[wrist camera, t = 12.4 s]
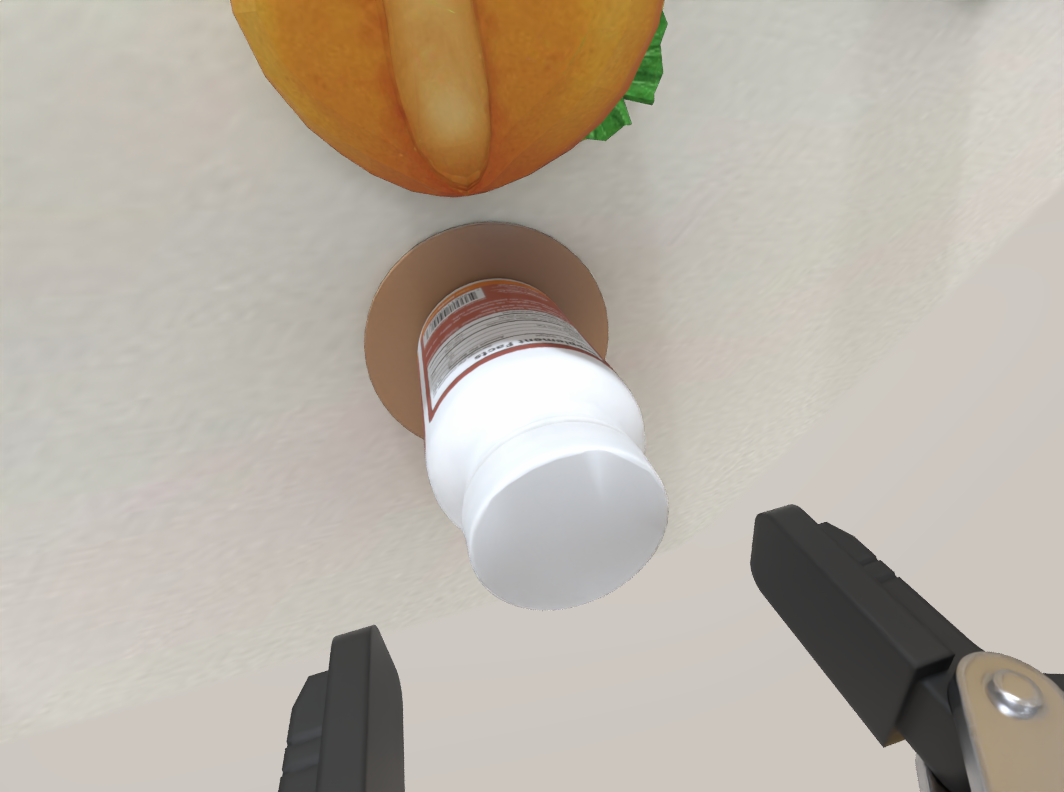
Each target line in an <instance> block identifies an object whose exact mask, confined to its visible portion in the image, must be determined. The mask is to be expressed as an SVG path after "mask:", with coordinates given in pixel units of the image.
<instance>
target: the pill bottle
mask: <svg viewBox="0 0 1064 792" xmlns="http://www.w3.org/2000/svg"><path fill="white" fill-rule="evenodd" d="M417 364H418V374H419V384H420V395H421V407H422V418H423V432H424V446H425V458H426V466H427V472H428V476H429V480H430V484H431V487H432V490H433V492H434V495H435V497H436V499H437V501H438V503H439V505H440V507H441V508H442V510H443V511H444V513H445V514H446V515H447V517H448V518H449V519H450V520H451V521H452V522H453V523H454V524H455V525H456V526H457V527H458V528H460V529H461V530H462V531H463V532H464V536H465V538H466V543H467V547H468V553H469V558H470V562H471V565H472V567H473V570H474V572H475V574H476V576H477V578H478V579H479V581H480V582H481V584H482V585H483V586H484V587H485V588H486V589H487V590H488V591H489V592H491V593H492V594H493V595H495V596H496V597H498V598H499V599H501V600H503V601H505V602H507V603H509V604H512V605H515V606H517V607H521V608H526V609H531V610H542V611H543V610H559V609H567V608H572V607H576V606H579V605H583V604H586V603H589V602H591V601H594V600H596V599H599V598H601V597H603V596H605V595H607V594H609V593H611V592H613V591H614V590H616V589H617V588H619V587H620V586H622V585H623V584H624V583H626V582H627V581H629V580H630V579H631V578H632V577H633V576H634V575H635V574H636V573H638V572H639V571H640V570H641V569H642V568H643V566H645V565H646V563H647V562H648V561H649V560H650V559H651V557H652V556H653V555H654V553H655V552H656V550H657V548H658V547H659V545H660V543H661V541H662V538H663V536H664V533H665V529H666V526H667V522H668V513H669V507H668V498H667V494H666V491H665V488H664V486H663V483H662V481H661V479H660V478H659V476H658V474H657V473H656V471H655V470H654V468H653V467H652V465H651V464H650V462H649V461H648V460H647V458H646V457H645V455H644V454H645V430H644V423H643V418H642V415H641V412H640V409H639V406H638V404H637V402H636V400H635V398H634V396H633V395H632V393H631V392H630V390H629V389H628V387H627V386H626V385H625V384H624V382H623V381H622V380H621V378H620V377H619V376H618V375H617V374H616V372H615V371H614V370H613V369H612V368H611V367H610V366H609V364H608V363H607V362H606V361H605V360H604V359H603V358H602V357H601V356H600V354H599V353H598V352H597V351H596V350H595V349H594V348H593V347H592V345H591V344H590V343H589V342H588V341H587V340H586V339H585V337H584V336H583V335H582V334H581V333H580V332H579V331H578V329H577V328H576V327H575V326H574V325H573V324H572V323H571V321H570V320H569V319H568V318H567V317H566V316H565V315H564V313H563V312H562V311H561V310H560V309H559V308H558V307H557V305H556V304H555V303H554V302H553V301H552V300H551V299H550V298H548V297H547V296H546V295H545V294H544V293H542V292H541V291H539V290H538V289H536V288H534V287H532V286H530V285H528V284H525V283H523V282H519V281H516V280H511V279H502V278H494V279H485V280H480V281H476V282H473V283H469V284H467V285H465V286H462V287H460V288H458V289H456V290H455V291H453V292H451V293H450V294H449V295H447V296H446V297H445V298H444V299H443V300H442V301H441V302H439V303H438V304H437V306H436V307H435V308H434V309H433V310H432V312H431V313H430V315H429V316H428V318H427V320H426V322H425V324H424V326H423V328H422V331H421V334H420V338H419V343H418V352H417Z"/></svg>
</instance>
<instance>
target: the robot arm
mask: <svg viewBox="0 0 1064 792" xmlns="http://www.w3.org/2000/svg"><path fill="white" fill-rule="evenodd" d="M750 565H751V571H752V575H753V578H754V580H755V582H756V584H757V586H758V588H759V590H760V591H761V593H762V594H763V595H764V596H765V598H766V599H767V600H768V602H769V603H770V604H771V605H772V607H773V608H774V609H775V610H776V612H777V613H778V614H779V615H780V617H781V618H782V619H783V621H784V622H785V623H786V624H787V626H788V627H789V628H790V629H791V631H792V632H793V633H794V634H795V636H796V637H797V638H798V640H799V641H800V642H801V643H802V645H803V646H804V647H805V649H806V650H807V651H808V652H809V654H810V655H811V656H812V657H813V658H814V660H815V661H816V662H817V664H818V665H819V666H820V667H821V669H822V670H823V671H824V673H825V674H826V675H827V676H828V678H829V679H830V680H831V681H832V683H833V684H834V685H835V687H836V688H837V689H838V690H839V692H840V693H841V694H842V695H843V697H844V698H845V699H846V701H847V702H848V703H849V704H850V706H851V707H852V708H853V709H854V711H855V712H856V713H857V714H858V716H859V717H860V718H861V720H862V721H863V722H864V723H865V725H866V726H867V727H868V728H869V730H870V731H871V732H872V734H873V735H874V736H875V737H876V739H877V740H878V741H879V742H880V744H881V745H882V746H883V747H886V746H889V745H891V744H894V743H897V742H900V741H902V740H906V741H907V742H908V743H909V744H910V745H911V747H912V748H913V749H914V750H915V752H916V753H917V754H916V759H915V761H916V770H917V776H918V781H919V788H920V792H1064V674H1046V673H1041V672H1040V671H1038V670H1037V669H1035V668H1034V667H1032V666H1030V665H1028V664H1026V663H1024V662H1022V661H1020V660H1018V659H1015V658H1013V657H1010V656H1007V655H1004V654H1000V653H994V652H985V651H984V650H982V649H981V648H979V647H978V646H977V645H975V644H974V643H973V642H972V641H971V640H969V639H968V638H967V637H966V636H965V635H964V634H963V633H961V632H960V631H959V630H958V629H957V628H956V627H955V626H953V624H951V623H950V622H949V621H948V620H947V619H946V618H945V617H944V616H942V615H941V614H940V613H939V612H938V611H937V610H936V609H935V608H933V607H932V606H931V605H930V604H929V603H928V602H927V601H926V600H925V599H923V598H922V597H921V596H920V595H919V594H918V593H917V592H916V591H915V590H913V589H912V588H911V587H910V586H909V585H908V584H907V583H905V582H904V581H903V580H902V579H901V578H900V577H896V576H895V573H894V572H893V571H892V570H891V569H890V568H889V567H888V566H887V565H885V564H884V563H883V562H882V561H881V560H879V561H878V560H877V558H876V556H875V555H874V554H873V553H872V552H871V551H870V550H869V549H867V548H866V547H865V546H864V545H863V544H862V543H861V542H860V541H858V539H856V538H855V537H854V536H852V535H850V534H849V533H847V532H845V531H843V530H841V529H839V528H837V527H835V526H833V525H831V524H829V523H827V522H824V523H821V524H817V523H816V522H815V521H814V520H813V519H812V518H811V517H810V516H809V515H808V514H807V513H806V512H805V511H804V510H802V509H801V508H800V507H798V506H796V505H793V504H791V505H787V506H784V507H780V508H777V509H773V510H770V511H767V512H763V513H760V514H758V515H757V516H756V519H755V526H754V535H753V543H752V553H751V561H750ZM287 745H288V746H287V748H286V749H285V754H284V761H283V767H282V771H283V775H282V777H281V778H280V785H279V790H278V792H405V786H404V740H403V701H402V691H401V686H400V681H399V676H398V673H397V670H396V668H395V665H394V663H393V661H392V659H391V657H390V654H389V652H388V650H387V648H386V645H385V643H384V641H383V638H382V636H381V634H380V632H379V630H378V628H377V626H376V625H372V626H369V627H365V628H362V629H359V630H355V631H352V632H348V633H345V634H341V635H338V636H335V637H334V639H333V641H332V645H331V653H330V662H329V670H328V671H325V672H321V673H318V674H315V675H312V676H309V677H308V679H307V681H306V683H305V685H304V687H303V688H302V690H301V692H300V694H299V696H298V698H297V700H296V702H295V704H294V706H293V708H292V713H291V718H290V724H289V730H288V737H287Z"/></svg>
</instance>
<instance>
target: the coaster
mask: <svg viewBox="0 0 1064 792" xmlns="http://www.w3.org/2000/svg"><path fill="white" fill-rule="evenodd" d="M494 278H502V279H511V280H516V281H519V282H523V283H525V284H528V285H530V286H532V287H534V288H536V289H538V290H539V291H541V292H542V293H544V294H545V295H546V296H547V297H548V298H550V299H551V300H552V301H553V302H554V303H555V304H556V305H557V307H558V308H559V309H560V310H561V311H562V312H563V313H564V315H565V316H566V317H567V318H568V319H569V320H570V321H571V323H572V324H573V325H574V326H575V327H576V328H577V329H578V331H579V332H580V333H581V334H582V335H583V336H584V337H585V339H586V340H587V341H588V342H589V343H590V344H591V345H592V347H593V348H594V349H595V350H596V351H597V352H598V353H599V354H600V356H601V357H602V358H603V359H604V360H605V356H606V352H607V344H608V320H607V313H606V308H605V304H604V301H603V297H602V294H601V292H600V290H599V288H598V285H597V283H596V281H595V280H594V278H593V277H592V275H591V273H590V272H589V270H588V269H587V268H586V266H585V265H584V264H583V263H582V262H581V261H580V259H579V258H578V257H577V256H576V255H574V254H573V253H572V252H571V251H570V250H569V249H568V248H566V247H565V246H564V245H562V244H561V243H559V242H558V241H556V240H555V239H553V238H552V237H550V236H548V235H546V234H544V233H541V232H539V231H537V230H535V229H531V228H528V227H525V226H521V225H517V224H511V223H504V222H480V223H472V224H465V225H462V226H458V227H454V228H450V229H448V230H445V231H443V232H440V233H438V234H436V235H433V236H431V237H430V238H428V239H426V240H425V241H423V242H421V243H420V244H418V245H417V246H415V247H414V248H413V249H412V250H410V251H409V252H408V253H406V254H405V255H404V256H403V257H402V258H401V259H400V260H399V261H398V262H397V263H396V264H395V265H394V266H393V267H392V269H391V270H390V271H389V273H388V274H387V276H386V277H385V278H384V280H383V281H382V283H381V285H380V286H379V288H378V290H377V292H376V294H375V296H374V298H373V301H372V304H371V307H370V310H369V313H368V318H367V323H366V328H365V343H364V349H365V359H366V365H367V369H368V373H369V377H370V380H371V382H372V384H373V387H374V389H375V391H376V393H377V395H378V397H379V398H380V400H381V402H382V403H383V405H384V406H385V407H386V408H387V410H388V411H389V412H390V413H391V415H392V416H393V417H394V418H395V419H396V420H397V421H398V422H399V423H401V424H402V425H403V426H404V427H405V428H407V429H408V430H409V431H411V432H412V433H414V434H415V435H417V436H419V437H420V438H422V439H424V432H423V418H422V407H421V395H420V384H419V374H418V364H417V352H418V343H419V338H420V334H421V331H422V328H423V326H424V324H425V322H426V320H427V318H428V316H429V315H430V313H431V312H432V310H433V309H434V308H435V307H436V306H437V304H438V303H439V302H441V301H442V300H443V299H444V298H445V297H446V296H447V295H449V294H450V293H451V292H453V291H455V290H456V289H458V288H460V287H462V286H465V285H467V284H469V283H473V282H476V281H480V280H485V279H494Z"/></svg>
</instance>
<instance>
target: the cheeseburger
mask: <svg viewBox="0 0 1064 792" xmlns="http://www.w3.org/2000/svg"><path fill="white" fill-rule="evenodd" d="M230 1H231V6H232V11H233V14H234V16H235V18H236V20H237V22H238V24H239V26H240V28H241V30H242V32H243V34H244V36H245V38H246V39H247V41H248V43H249V45H250V47H251V49H252V51H253V53H254V55H255V57H256V59H257V61H258V63H259V65H260V67H261V69H262V71H263V73H264V75H265V77H266V78H267V79H268V81H269V82H270V83H271V84H272V85H273V87H274V88H275V89H276V90H277V91H278V93H279V94H280V95H281V96H282V97H283V98H284V100H285V101H286V102H287V103H288V104H289V106H290V107H291V108H292V109H293V110H294V112H295V113H296V114H297V115H298V116H299V117H300V119H301V120H302V121H303V122H304V123H305V125H306V126H307V127H308V128H309V129H310V130H312V131H313V132H314V133H315V134H317V135H318V136H319V137H320V138H322V139H323V140H324V141H325V142H327V143H328V144H329V145H330V146H332V147H333V148H334V149H335V150H337V151H338V152H339V153H340V154H342V155H343V156H345V157H346V158H348V159H349V160H351V161H352V162H354V163H355V164H357V165H359V166H360V167H362V168H363V169H365V170H366V171H368V172H369V173H371V174H372V175H375V176H377V177H379V178H382V179H384V180H386V181H389V182H391V183H394V184H396V185H398V186H401V187H403V188H405V189H408V190H410V191H413V192H419V193H425V194H430V195H436V196H444V197H461V196H469V195H474V194H479V193H485V192H488V191H490V190H493V189H496V188H499V187H501V186H504V185H506V184H508V183H511V182H513V181H516V180H518V179H521V178H523V177H525V176H528V175H530V174H532V173H533V172H535V171H537V170H538V169H540V168H541V167H543V166H545V165H546V164H548V163H550V162H551V161H553V160H554V159H556V158H558V157H559V156H561V155H563V154H564V153H566V152H567V151H569V150H571V149H572V148H573V147H574V146H576V145H577V144H578V143H579V142H581V141H582V140H586V139H594V140H602V141H606V140H607V139H609V138H610V137H611V136H612V135H614V134H615V133H616V132H617V131H618V130H620V129H621V128H622V127H623V126H624V125H631V124H632V123H631V120H630V117H629V114H628V111H627V108H626V105H625V102H624V99H626V100H630V101H635V102H640V103H644V104H649V105H653V103H654V93H655V91H656V89H657V86H658V84H659V81H660V79H661V77H662V74H663V66H662V56H661V46H660V44H661V41H662V38H663V35H664V32H665V30H666V27H667V21H666V18H665V16H664V13H663V6H664V0H230Z"/></svg>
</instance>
